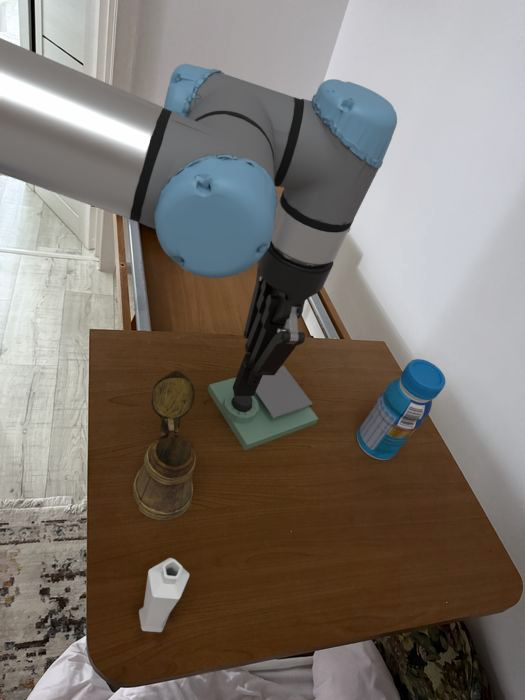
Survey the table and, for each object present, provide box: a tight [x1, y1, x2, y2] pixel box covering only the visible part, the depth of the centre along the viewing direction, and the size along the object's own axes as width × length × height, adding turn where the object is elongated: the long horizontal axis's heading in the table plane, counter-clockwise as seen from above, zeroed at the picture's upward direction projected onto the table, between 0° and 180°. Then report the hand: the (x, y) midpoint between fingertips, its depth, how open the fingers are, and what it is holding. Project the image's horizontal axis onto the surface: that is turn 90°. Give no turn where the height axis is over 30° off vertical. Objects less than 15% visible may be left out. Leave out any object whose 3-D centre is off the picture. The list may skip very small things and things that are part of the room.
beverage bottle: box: [356, 358, 446, 461], centre depth 89 cm, size 8×8×20 cm
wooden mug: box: [131, 369, 196, 521], centre depth 72 cm, size 9×14×18 cm, turn 13°
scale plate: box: [255, 365, 314, 419], centre depth 93 cm, size 9×10×1 cm
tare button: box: [233, 396, 253, 412], centre depth 88 cm, size 3×3×2 cm
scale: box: [206, 376, 319, 451], centre depth 92 cm, size 17×14×4 cm
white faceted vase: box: [138, 557, 190, 633], centre depth 59 cm, size 5×4×15 cm
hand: (243, 391), depth 68 cm, fingers closed
